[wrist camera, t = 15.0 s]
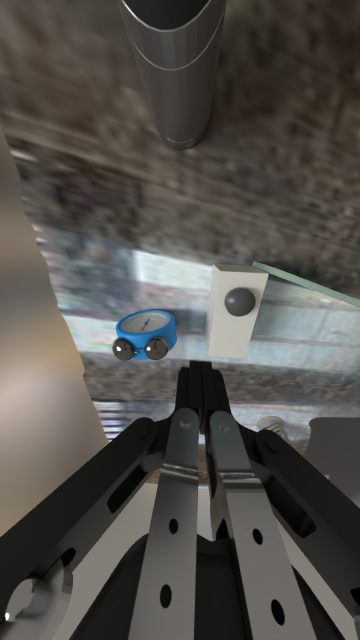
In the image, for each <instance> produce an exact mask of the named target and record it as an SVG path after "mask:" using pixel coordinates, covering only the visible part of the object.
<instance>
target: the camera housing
mask: <svg viewBox="0 0 360 640" xmlns="http://www.w3.org/2000/svg"><path fill="white" fill-rule="evenodd" d="M268 275H269V273H266V272H264V271H262V270H259V269H257V268H254V267H252V266H250V265H231V264H213V269H212V277H211V285H210V293H209V301H208V309H207V317H206V325H205V339H206V346H207V354H208V356H219V357H232V358H245V356H246V352H247V349H248V345H249V342H250V338H251V335H252V331H253V328H254V324H255V321H256V317H257V314H258V310H259V307H260V303H261V300H262V296H263V293H264V289H265V286H266V282H267V279H268Z"/></svg>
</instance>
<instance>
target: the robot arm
mask: <svg viewBox="0 0 360 640" xmlns="http://www.w3.org/2000/svg"><path fill="white" fill-rule="evenodd" d="M117 2H118V5H119V8H120V11H121V15H122V18H123V20H124V24H125V27H126V30H127V33H128V37H129V40H130V43H131V46H132V49H133V53H134V56H135V59H136V62H137V66H138V69H139V72H140V75H141V78H142V82H143V85H144V88H145V91H146V95H147V98H148V101H149V104H150V108H151V111H152V114H153V117H154V120H155V123H156V127H157V130H158V132H159V134H160V136H161V137H162V139H163V140H164V141H165V142H166V143H167V144H168V145H169V146H171V147H173V148H175V149H180V150H182V149H187V148H190V147H192V146H193V145H195V144H196V143H197V142H198V141H199V140H200V139H201V137H202V136H203V134H204V132H205V131H206V128H207V125H208V123H209V118H210V114H211V107H212V100H213V94H214V87H215V80H216V73H217V66H218V59H219V52H220V45H221V38H222V31H223V24H224V17H225V10H226V3H227V0H117ZM199 432H200V434H203V435H205V447H204V453H205V461H206V469H207V478H208V486H209V494H210V518H211V528H212V537H213V541H209V540H207V539H205V538H204V537H202V536H200V535H198V534H197V508H198V441H199ZM161 467H162V469H161V473H160V478H159V483H158V488H157V493H156V498H155V504H154V508H153V513H152V519H151V524H150V529H149V533H147V534H146V535H144V536H142V537H141V538H140V539H139V540H137V541H136V542H135V543H134V544H133V545H132V546H131V547H130V548H129V550H128V551H127V552H126V553H125V555H124V556H123V557H122V559H121V560H120V562H119V563H118V565H117V567H116V568H115V570H114V571H113V573H112V574H111V576H110V577H109V579H108V580H107V582H106V583H105V585H104V586H103V588H102V589H101V591H100V593H99V594H98V596H97V597H96V599H95V601H94V602H93V604H92V605H91V606H90V608H89V610H88V611H87V613H86V614H85V616H84V617H83V619H82V620H81V622H80V623H79V625H78V626H77V628H76V630H75V631H74V633H73V634H72V636H71V637H70V639H69V640H345V638H344V637H343V635H342V634H341V632H340V631H339V630H338V628H337V627H336V625H335V624H334V622H333V621H332V619H331V618H330V616H329V615H328V614H327V612H326V611H325V609H324V608H323V606H322V605H321V603H320V602H319V600H318V599H317V597H316V596H315V595H314V593H313V592H312V590H311V589H310V587H309V586H308V584H307V583H306V582H305V580H304V579H303V578H302V576H301V575H300V574H299V573H298V572H297V570H296V569H295V568H294V567H293V566H292V565H291V564H290V561H289V558H288V555H287V552H286V549H285V546H284V543H283V540H282V538H281V535H280V532H279V529H278V526H277V523H276V521H275V517H276V518H277V519H278V521H279V522H280V523H281V525H282V526H283V527H284V529H285V530H286V531H287V533H288V534H289V535H290V536H291V538H292V539H293V540H294V542H295V543H296V544H297V546H298V547H299V548H300V549H301V551H302V552H303V553H304V555H305V556H306V557H307V559H308V560H309V561H310V562H311V564H312V565H313V566H314V568H315V569H316V570H317V572H318V573H319V574H320V575H321V577H322V578H323V579H324V581H325V582H326V583H327V585H328V586H329V587H330V588H331V590H332V591H333V592H334V594H335V595H336V596H337V598H338V599H339V600H340V602H341V603H342V604H343V605H344V607H345V608H346V609H347V610H348V612H349V613H350V614H351V616H352V617H353V618H354V623H355V629H356V632H357V637H358V640H360V508H359V507H357V506H356V505H355V504H354V503H353V502H352V501H351V500H350V499H349V498H348V497H347V496H345V495H344V494H343V493H342V492H341V491H340V490H339V489H338V488H337V487H336V486H334V485H333V484H332V483H331V482H330V481H329V480H328V479H327V478H326V477H325V476H323V475H322V474H321V473H320V472H319V471H318V470H317V469H316V468H314V467H313V466H312V465H311V464H310V463H309V462H308V461H307V460H306V459H305V458H304V457H303V456H301V455H300V454H299V453H298V452H297V451H296V450H295V449H294V448H293V447H292V446H290V445H289V444H288V443H287V442H286V441H285V440H284V439H283V438H282V437H281V436H279V435H278V434H277V433H275V432H273V431H271V430H268V429H262V430H260V431H259V432H258V433H257V432H255V431H253V430H250V429H248V428H246V427H244V426H242V425H241V424H239V423H238V422H237V421H236V420H235V419H234V417H233V415H232V413H231V410H230V405H229V401H228V397H227V392H226V389H225V384H224V379H223V375H222V374H221V373H220V371H219V370H215V369H212V364H211V362H209V361H195V360H190V364H189V368H188V367H182V368H181V370H180V371H179V374H178V384H177V394H176V403H175V409H174V411H173V413H172V414H171V415H170V416H169V417H168V418H166V419H164V420H160V421H157V422H154V421H153V420H152V419H150V418H147V417H143V418H139V419H137V420H135V421H134V422H133V423H132V424H131V425H129V426H128V427H127V428H126V429H125V430H124V431H123V432H121V433H120V434H119V435H118V436H117V437H116V438H114V439H113V440H112V441H111V442H110V443H109V444H108V445H107V446H106V447H104V448H103V449H102V450H101V451H99V452H98V453H97V454H96V455H95V456H94V457H93V458H91V459H90V460H89V461H88V462H87V463H86V464H84V465H83V466H82V467H81V468H80V469H79V470H78V471H76V472H75V473H74V474H73V475H72V476H71V477H69V478H68V479H67V480H66V481H65V482H64V483H63V484H61V485H60V486H59V487H58V488H57V489H56V490H55V491H53V492H52V493H51V494H50V495H49V496H48V497H46V498H45V499H44V500H43V501H42V502H41V503H39V504H38V505H37V506H36V507H35V508H34V509H33V510H31V511H30V512H29V513H28V514H27V515H26V516H25V517H23V518H22V519H21V520H20V521H19V522H18V523H16V525H14V526H13V527H12V528H11V529H9V530H8V531H7V532H6V533H5V534H4V535H3V536H1V537H0V640H51V639H52V637H53V635H54V634H55V632H56V631H57V629H58V627H59V626H60V624H61V622H62V619H63V617H64V615H65V613H66V611H67V608H68V605H69V602H70V598H71V594H72V588H73V574H72V572H73V571H74V569H75V568H76V567H77V566H78V564H79V563H80V562H81V561H82V559H83V558H84V557H85V556H86V555H87V553H88V552H89V551H90V550H91V548H92V547H93V546H94V544H96V542H97V541H98V540H99V539H100V537H101V536H102V535H103V534H104V532H105V531H106V530H107V529H108V527H109V526H110V525H111V524H112V523H113V521H114V520H115V519H116V518H117V516H118V515H119V514H120V513H121V511H122V510H123V509H124V508H125V506H126V505H127V504H128V503H129V501H130V500H131V499H132V498H133V497H134V495H135V494H136V493H137V492H138V490H139V489H140V488H141V487H142V485H143V484H144V483H145V482H146V480H147V479H148V478H149V477H150V476H151V474H152V473H153V472H154V470H156V469H158V468H161ZM274 516H275V517H274ZM252 534H253V535H252Z"/></svg>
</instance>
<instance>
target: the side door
mask: <svg viewBox="0 0 360 640" xmlns="http://www.w3.org/2000/svg"><path fill="white" fill-rule="evenodd" d="M252 266H253V267H256V268H258V269H261V270H263V271H265V272H268V273H270V274H273V275H276V276H278V277H281V278H283V279H286V280H289V281H291V282H294V283H297V284H299V285H302V286H304V287H307V288H310V289H312V290H315V291H318V292H320V293H323V294H325V295H328V296H331V297H333V298H336V299H339V300H341V301H344V302H347V303H349V304H352V305H354V306H357V307H360V300H357V299H355V298H352V297H349V296H347V295H344V294H342V293H339V292H336V291H334V290H331V289H329V288H326V287H323V286H321V285H318V284H316V283H313V282H310V281H308V280H305V279H303V278H300V277H297V276H295V275H292V274H290V273H287V272H284V271H282V270H279V269H277V268H274V267H270V266H267V265H264V264H261V263H258V262H255V261H254V262H253V264H252Z"/></svg>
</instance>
